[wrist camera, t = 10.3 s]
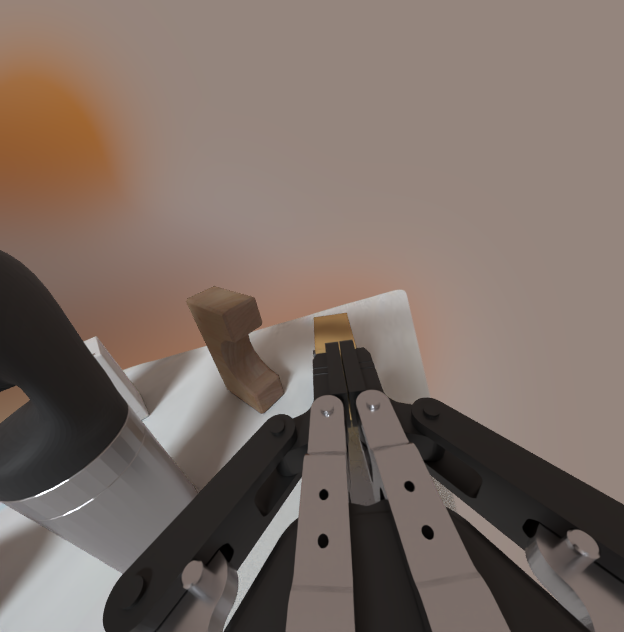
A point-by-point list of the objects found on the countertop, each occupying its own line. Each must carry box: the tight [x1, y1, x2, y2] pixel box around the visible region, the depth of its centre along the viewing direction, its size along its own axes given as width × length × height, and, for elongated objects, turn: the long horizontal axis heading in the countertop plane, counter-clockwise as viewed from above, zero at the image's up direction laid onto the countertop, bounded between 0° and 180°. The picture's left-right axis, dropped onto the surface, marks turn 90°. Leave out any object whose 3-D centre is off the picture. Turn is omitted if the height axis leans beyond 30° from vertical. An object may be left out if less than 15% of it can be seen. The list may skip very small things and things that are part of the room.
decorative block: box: [186, 286, 284, 414], centre depth 41 cm, size 11×6×20 cm, turn 50°
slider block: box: [314, 313, 356, 420], centre depth 37 cm, size 8×5×14 cm, turn 1°
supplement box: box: [84, 337, 149, 420], centre depth 42 cm, size 9×9×15 cm
